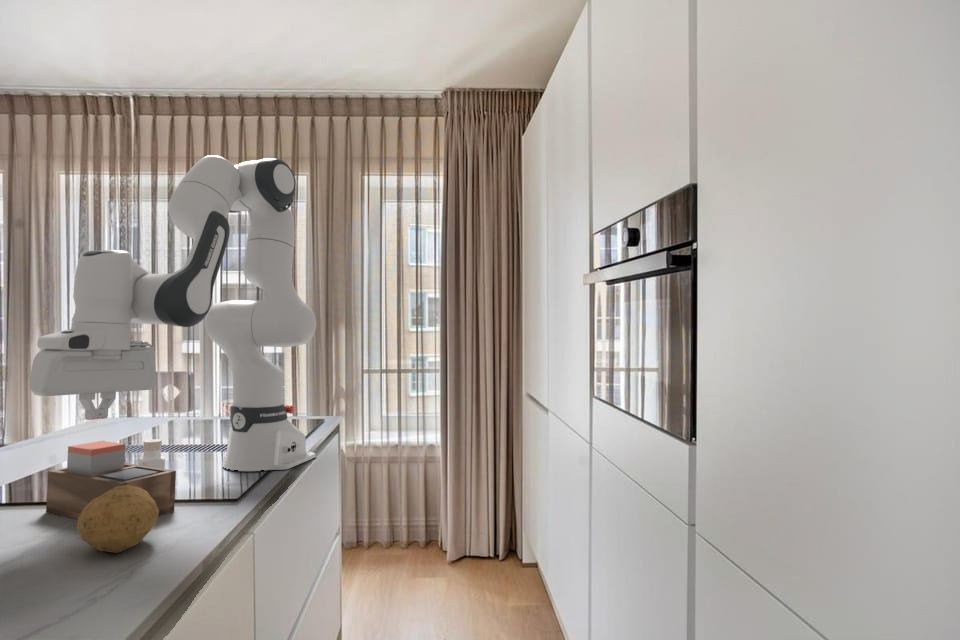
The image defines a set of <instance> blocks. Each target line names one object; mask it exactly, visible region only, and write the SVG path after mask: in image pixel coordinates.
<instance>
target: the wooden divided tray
mask: <svg viewBox="0 0 960 640" xmlns="http://www.w3.org/2000/svg"><path fill="white" fill-rule="evenodd" d="M132 468H138V469H144V470H150V471H156V472H158V473H157V474H153V475H149V476H145V477H140V478H136V479H132V480H128V481H123V482H122V481H116V480H110V479H105V478H100V475H104V474H109V473H113V472H118V471H122V470H127V469H132ZM176 476H177V470H174V469H173V470H172V469H167V468H165V469H162V468H155V467H149V466H142V465H139V464H135V463H128V462H125V463H124V468H120V469H116V470H111V471H106V472H101V473H97V474H92V475H82V474H76V473H70V472H67V466H66V467H61V468H56V469H51V470H47V482H46V483H47V484H46V487H47V488H46V508H45V513H48V514H51V515H56V516H61V517H66V518H70V519H74V520H78V517H79V516H80V514H81V512H82V511H83V509H84V508H85V506H86V505H87V504H88V503H90V502H91V501H92V500H93V499H95V498H97V497H99V496H101V495H102V494H104V493H106V492H107V491H109V490H111V489H113V488H114V487H118V486H124V485H131V486H135V487H140V488H142V489H144V490H145V491H147V492H148V493H149V495H150V496H151V497H152V499H153V500H154V501H155V503H156V505H157V507H158V509H159V514H158V517H159V516H164V515H167V514H169V513H172V512H175V501H176V500H175V499H176V481H177V480H176Z"/></svg>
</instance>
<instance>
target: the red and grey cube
mask: <svg viewBox="0 0 960 640" xmlns="http://www.w3.org/2000/svg"><path fill="white" fill-rule="evenodd" d="M125 454H126V444H125V443H121V442H116V441H115V442H114V441H106V440H98V441H92V442H87V443H86V442H85V443H81V444H74V445H68V446H67V464H66V467H67V472H70V473H76V474H82V475H92V474H97V473H101V472H106V471H111V470H116V469H120V468H124V463H126V462H125V460H126V459H125V456H126V455H125Z"/></svg>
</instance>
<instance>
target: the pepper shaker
mask: <svg viewBox="0 0 960 640" xmlns="http://www.w3.org/2000/svg"><path fill="white" fill-rule="evenodd" d="M162 441H163V439H157V438H155V439H154V438H153V439H146V440H143V443H142V445H143V446H142V451H143V453H142V454H143V456H141V457H138V465H142V466H149V467H155V468H162V469H166V467H165V466H166V457H164V455H162V443H163V442H162Z"/></svg>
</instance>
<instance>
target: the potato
mask: <svg viewBox="0 0 960 640" xmlns="http://www.w3.org/2000/svg"><path fill="white" fill-rule="evenodd" d="M158 514H159V509H158V507H157V505H156V503H155V501H154V500H153V499H152V497H151V496H150V495H149V493H148V492H147V491H145V490H144V489H142V488H140V487H135V486H131V485H124V486H118V487H114V488H113V489H111V490H109V491H107V492H106V493H104V494H102V495H101V496H99V497H97V498H95V499H93V500H92V501H91V502H90V503H88V504H87V505H86V506H85V508H84V509H83V511H82V512H81V514H80V516H79V517H78V519H77V523H76V528H77V529H76V530H77V531H78V533H79V535H80V538H81V540H82V541H83V542H85V543H87V544H88V545H89V546H91V547H92V548H93V547H94V548H95V549H96V550H98V551H101V552H108V553H113V554H119V553H121V552H123V551H125V550H129V549H130V548H132V547H134V546H135V545H138V544H139V543H140V542H142V540H143V539H144V538H145V537H146V536H147V535H148V534H149V532H150V531H151V530H152V528H154V526H156V524H157V522H158V517H159V516H158Z"/></svg>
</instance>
